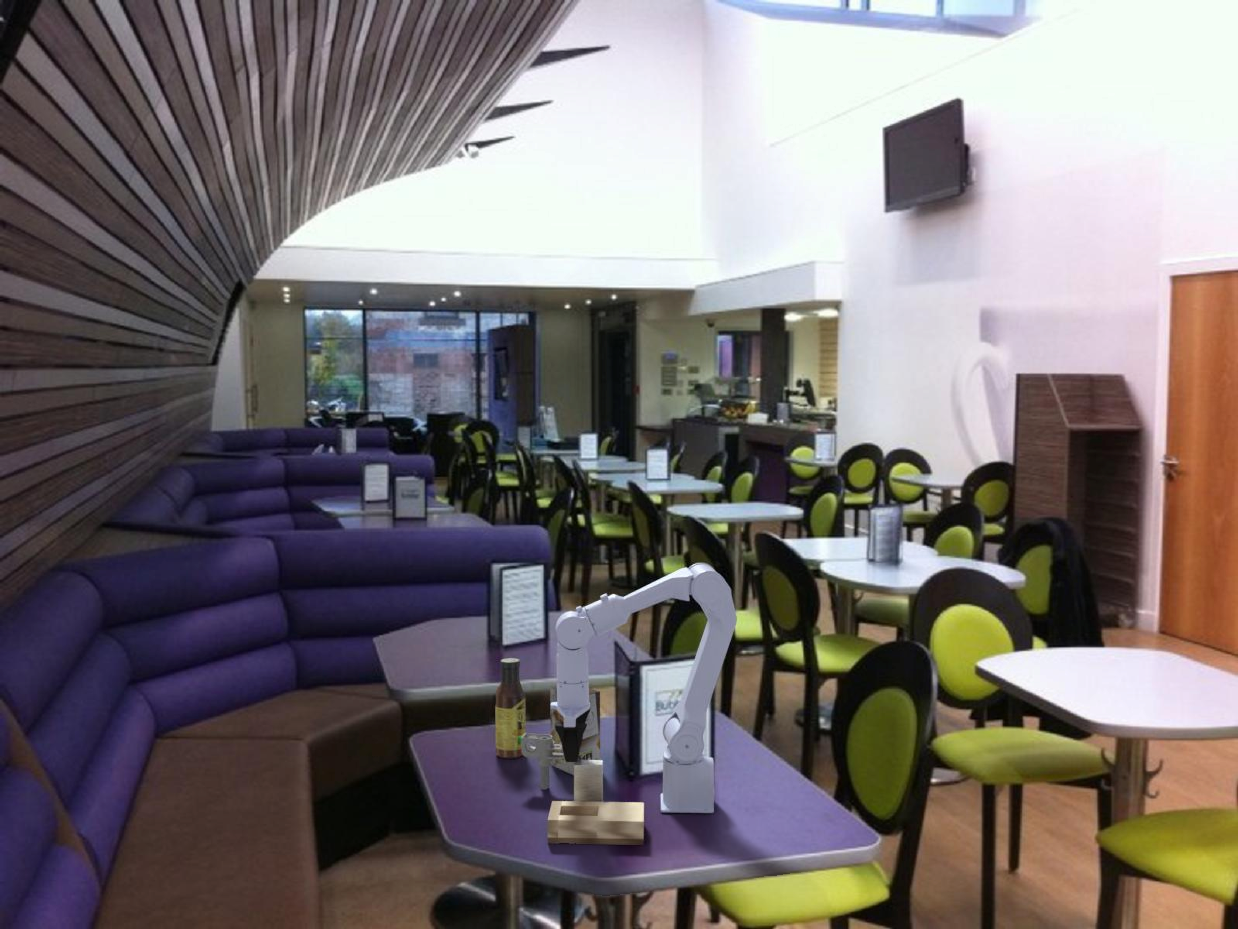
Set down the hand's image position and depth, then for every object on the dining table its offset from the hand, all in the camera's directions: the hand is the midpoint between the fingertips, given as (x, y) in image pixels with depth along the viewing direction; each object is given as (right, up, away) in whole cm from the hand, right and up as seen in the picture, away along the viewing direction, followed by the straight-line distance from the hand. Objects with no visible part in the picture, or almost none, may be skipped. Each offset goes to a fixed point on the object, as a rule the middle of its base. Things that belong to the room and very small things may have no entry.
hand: (573, 754), depth 186 cm
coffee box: (-1, -9, +21) cm, 23 cm away
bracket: (+3, -10, 0) cm, 11 cm away
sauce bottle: (-14, -8, +29) cm, 33 cm away
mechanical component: (-6, -10, +10) cm, 15 cm away
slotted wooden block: (+4, -11, -10) cm, 15 cm away
